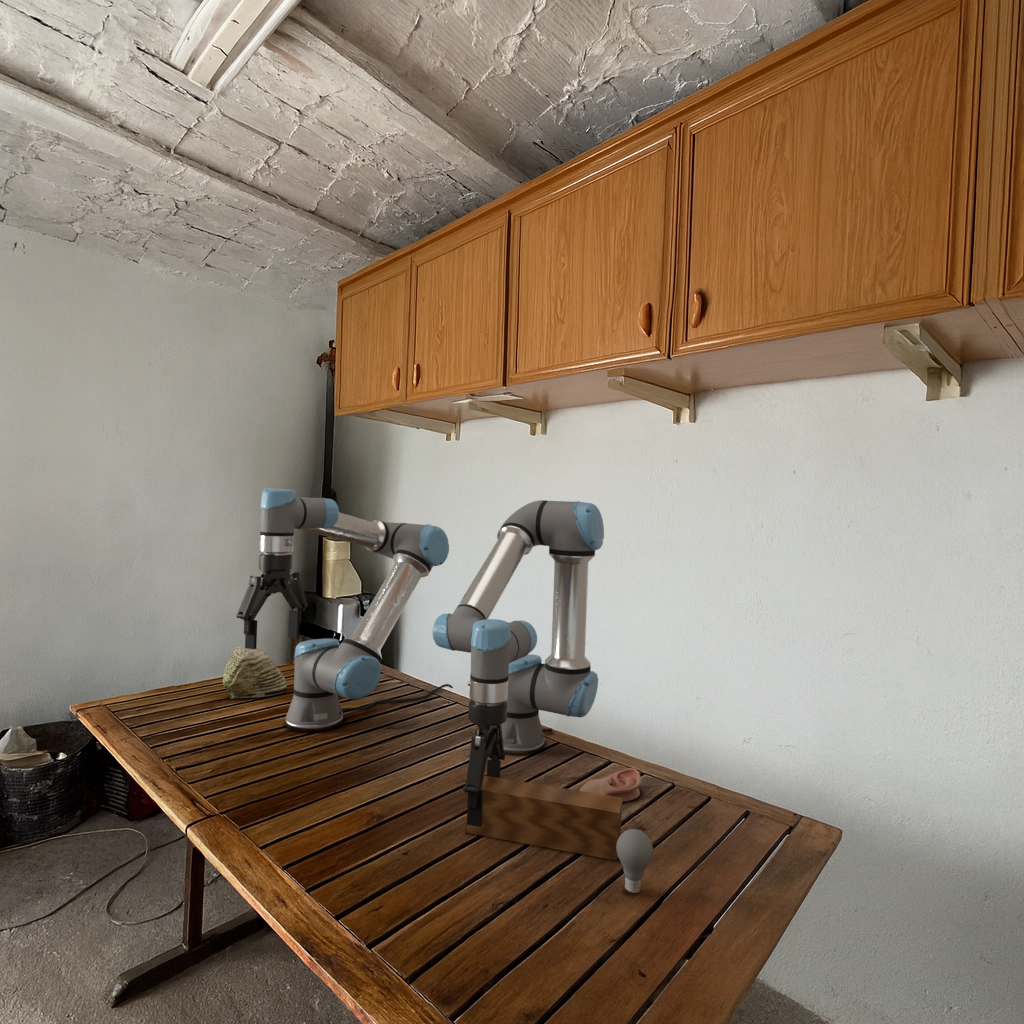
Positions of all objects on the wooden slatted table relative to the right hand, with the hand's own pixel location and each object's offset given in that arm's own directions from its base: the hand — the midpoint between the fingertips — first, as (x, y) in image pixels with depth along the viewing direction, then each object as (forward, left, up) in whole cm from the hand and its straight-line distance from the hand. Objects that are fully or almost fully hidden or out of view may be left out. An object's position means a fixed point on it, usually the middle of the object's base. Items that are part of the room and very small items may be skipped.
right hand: (483, 807), depth 124 cm
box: (-7, +10, -4) cm, 13 cm away
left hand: (+24, -53, +24) cm, 63 cm away
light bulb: (-8, +31, -4) cm, 32 cm away
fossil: (+11, -105, -4) cm, 105 cm away
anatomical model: (-32, +4, -4) cm, 33 cm away
